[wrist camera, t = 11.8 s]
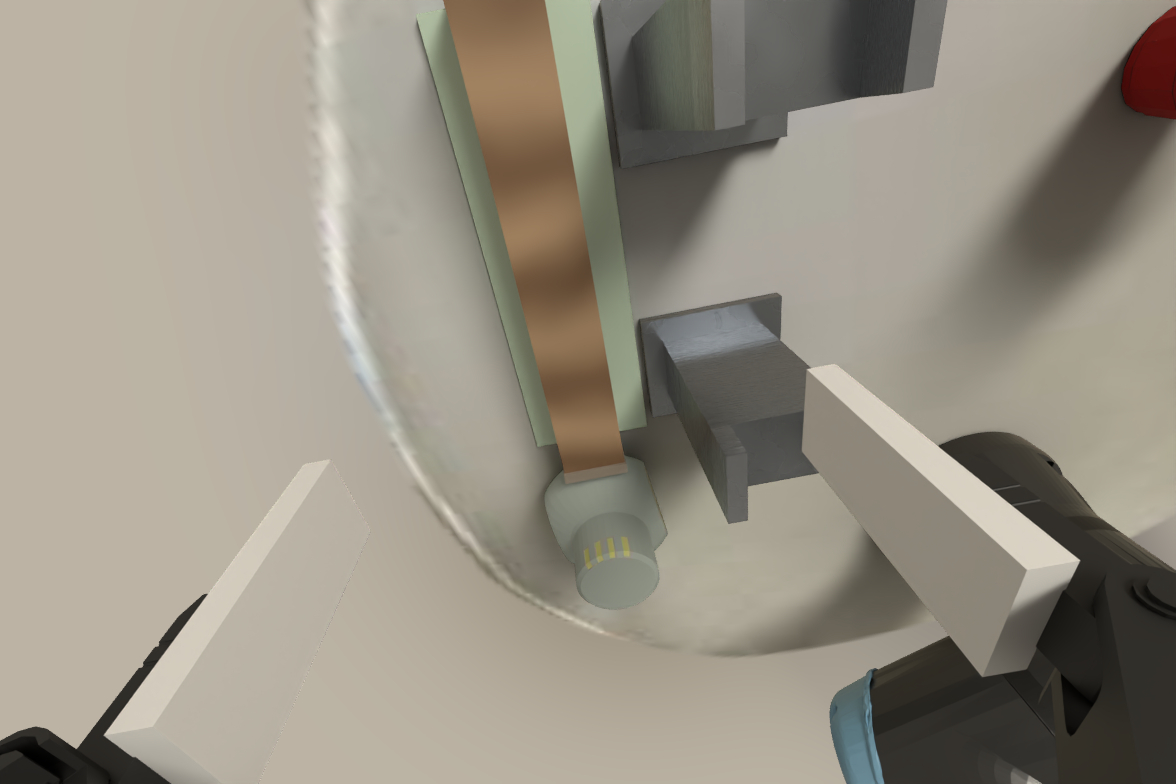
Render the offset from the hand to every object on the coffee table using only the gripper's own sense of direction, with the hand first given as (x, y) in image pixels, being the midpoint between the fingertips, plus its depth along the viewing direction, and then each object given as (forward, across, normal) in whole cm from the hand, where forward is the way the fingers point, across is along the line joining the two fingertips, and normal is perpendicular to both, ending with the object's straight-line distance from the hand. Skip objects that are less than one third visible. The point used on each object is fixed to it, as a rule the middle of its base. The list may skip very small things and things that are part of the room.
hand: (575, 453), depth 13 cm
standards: (+21, -10, 0) cm, 23 cm away
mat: (+21, 0, 0) cm, 21 cm away
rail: (+21, 0, 0) cm, 21 cm away
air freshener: (+21, 0, +20) cm, 29 cm away
